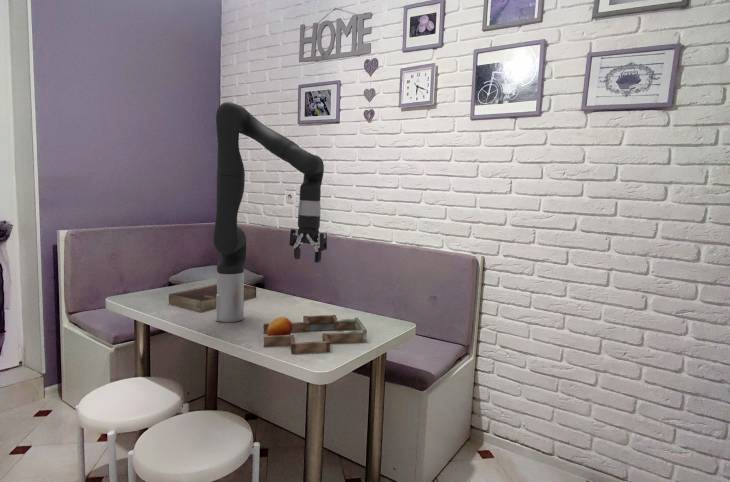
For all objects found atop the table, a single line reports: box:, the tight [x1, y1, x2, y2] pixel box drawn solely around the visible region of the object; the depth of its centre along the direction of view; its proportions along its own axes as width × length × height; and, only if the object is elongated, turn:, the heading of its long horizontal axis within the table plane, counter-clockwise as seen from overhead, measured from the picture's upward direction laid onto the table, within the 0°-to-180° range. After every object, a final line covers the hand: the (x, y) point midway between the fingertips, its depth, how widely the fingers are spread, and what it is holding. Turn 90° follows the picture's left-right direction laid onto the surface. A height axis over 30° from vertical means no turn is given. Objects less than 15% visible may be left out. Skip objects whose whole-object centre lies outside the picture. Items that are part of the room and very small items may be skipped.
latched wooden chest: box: [168, 283, 257, 313], centre depth 185 cm, size 29×19×5 cm, turn 149°
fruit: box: [266, 316, 293, 336], centre depth 144 cm, size 8×8×8 cm
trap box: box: [262, 314, 368, 355], centre depth 146 cm, size 32×27×4 cm
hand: (307, 260), depth 155 cm, fingers open, 8 cm apart
